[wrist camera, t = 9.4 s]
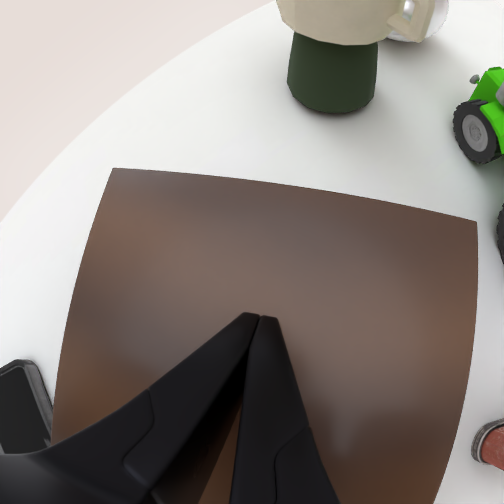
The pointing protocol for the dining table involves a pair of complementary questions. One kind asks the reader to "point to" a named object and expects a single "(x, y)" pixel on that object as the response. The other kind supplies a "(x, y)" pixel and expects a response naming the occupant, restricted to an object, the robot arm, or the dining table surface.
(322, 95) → the cream and green trophy
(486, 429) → the lighter
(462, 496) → the dining table surface
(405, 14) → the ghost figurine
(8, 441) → the phone
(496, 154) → the toy tractor
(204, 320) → the lid
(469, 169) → the dining table surface
